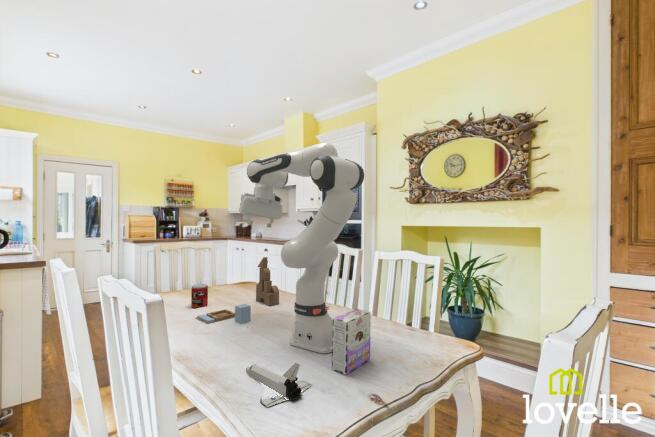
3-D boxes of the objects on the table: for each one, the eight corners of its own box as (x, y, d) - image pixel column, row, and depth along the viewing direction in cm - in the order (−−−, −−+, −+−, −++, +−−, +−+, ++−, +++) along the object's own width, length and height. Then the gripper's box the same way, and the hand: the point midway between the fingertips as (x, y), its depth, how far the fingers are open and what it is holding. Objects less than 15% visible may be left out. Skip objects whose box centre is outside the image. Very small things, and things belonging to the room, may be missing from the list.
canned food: (188, 308, 168) (188, 286, 168) (198, 304, 176) (198, 283, 176) (200, 309, 166) (200, 287, 166) (210, 305, 174) (210, 284, 173)
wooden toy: (279, 304, 177) (280, 257, 177) (269, 306, 173) (269, 258, 173) (264, 298, 189) (265, 255, 189) (254, 300, 184) (254, 255, 184)
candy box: (356, 355, 114) (356, 308, 114) (370, 360, 110) (371, 311, 110) (331, 369, 103) (331, 317, 103) (346, 375, 99) (347, 321, 99)
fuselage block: (250, 323, 145) (250, 305, 145) (240, 326, 141) (240, 308, 141) (244, 321, 148) (245, 303, 148) (234, 324, 144) (235, 305, 144)
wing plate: (214, 321, 144) (214, 319, 144) (208, 323, 142) (208, 320, 142) (203, 316, 151) (203, 314, 151) (197, 317, 148) (197, 315, 148)
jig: (240, 318, 152) (240, 313, 152) (206, 327, 140) (206, 321, 140) (226, 313, 160) (226, 308, 160) (194, 320, 148) (194, 315, 148)
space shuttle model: (266, 363, 108) (267, 333, 108) (320, 392, 91) (321, 356, 91) (223, 379, 97) (224, 345, 97) (275, 416, 80) (275, 375, 80)
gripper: (244, 190, 144) (240, 222, 142) (285, 199, 156) (282, 228, 154) (238, 192, 149) (235, 223, 147) (278, 201, 161) (275, 229, 159)
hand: (259, 226), depth 150 cm, fingers open, 8 cm apart
